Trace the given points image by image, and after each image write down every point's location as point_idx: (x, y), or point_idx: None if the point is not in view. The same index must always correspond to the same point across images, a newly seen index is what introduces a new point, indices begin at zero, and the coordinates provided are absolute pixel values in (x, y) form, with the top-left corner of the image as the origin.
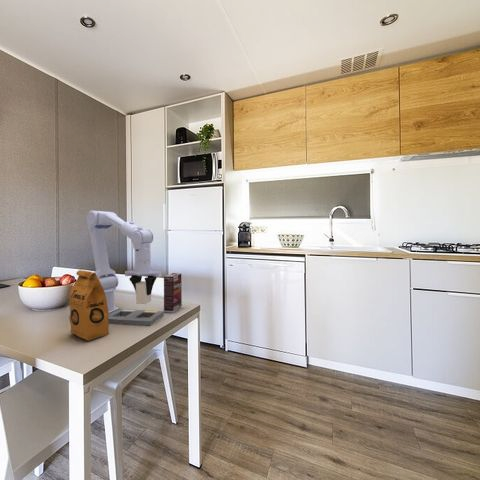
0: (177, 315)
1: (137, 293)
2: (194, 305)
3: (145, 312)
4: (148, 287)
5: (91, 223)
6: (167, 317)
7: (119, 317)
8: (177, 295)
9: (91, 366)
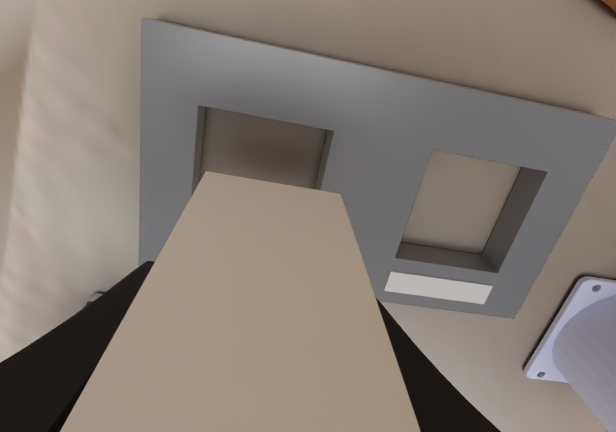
0: (35, 247)
1: (338, 266)
2: None
3: None
4: (39, 347)
5: None
6: (98, 210)
7: (474, 139)
8: None
9: None
